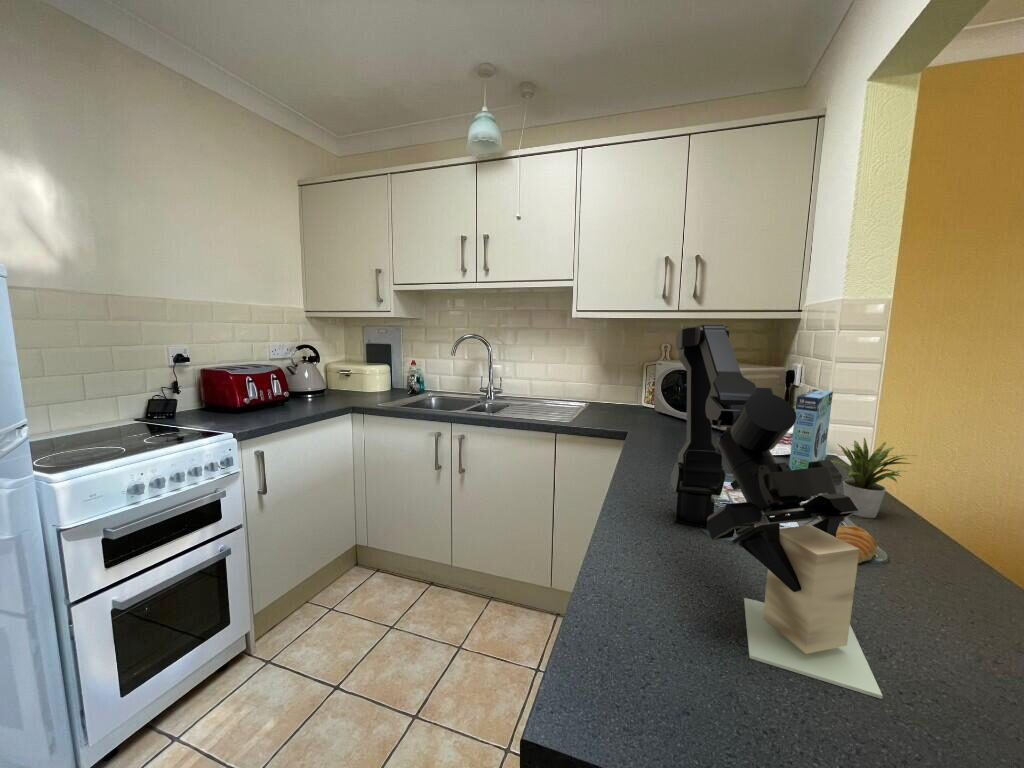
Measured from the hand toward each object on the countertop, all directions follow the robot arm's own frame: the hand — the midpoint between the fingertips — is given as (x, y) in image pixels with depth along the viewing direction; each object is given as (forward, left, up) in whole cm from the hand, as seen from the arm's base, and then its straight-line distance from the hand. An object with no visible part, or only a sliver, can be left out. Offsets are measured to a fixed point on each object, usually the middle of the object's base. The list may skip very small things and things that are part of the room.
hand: (819, 587), depth 49 cm
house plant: (+17, +52, -8) cm, 55 cm away
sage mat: (-1, +1, -8) cm, 8 cm away
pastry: (+11, +32, -8) cm, 34 cm away
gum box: (+11, +76, -8) cm, 77 cm away
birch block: (-1, +1, -7) cm, 7 cm away
